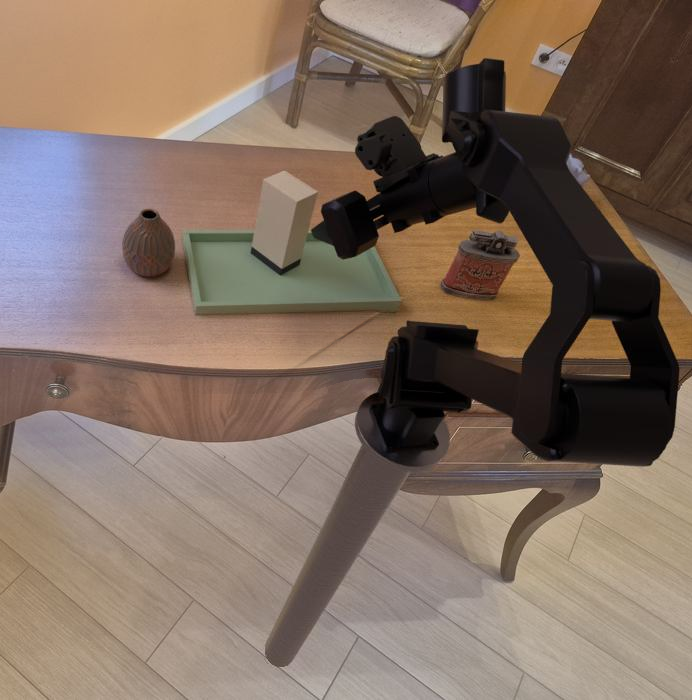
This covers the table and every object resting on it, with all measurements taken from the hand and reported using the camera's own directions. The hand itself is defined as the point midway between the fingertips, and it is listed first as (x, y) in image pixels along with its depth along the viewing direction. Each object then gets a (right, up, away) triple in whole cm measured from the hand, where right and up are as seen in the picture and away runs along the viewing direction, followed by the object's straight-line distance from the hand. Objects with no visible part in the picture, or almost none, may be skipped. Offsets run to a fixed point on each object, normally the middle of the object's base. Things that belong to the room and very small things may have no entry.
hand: (338, 220), depth 75 cm
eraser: (-7, -3, +12) cm, 14 cm away
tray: (-5, -5, +11) cm, 13 cm away
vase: (-24, -5, +9) cm, 26 cm away
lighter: (+21, -7, +13) cm, 26 cm away
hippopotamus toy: (+40, +11, +33) cm, 53 cm away
